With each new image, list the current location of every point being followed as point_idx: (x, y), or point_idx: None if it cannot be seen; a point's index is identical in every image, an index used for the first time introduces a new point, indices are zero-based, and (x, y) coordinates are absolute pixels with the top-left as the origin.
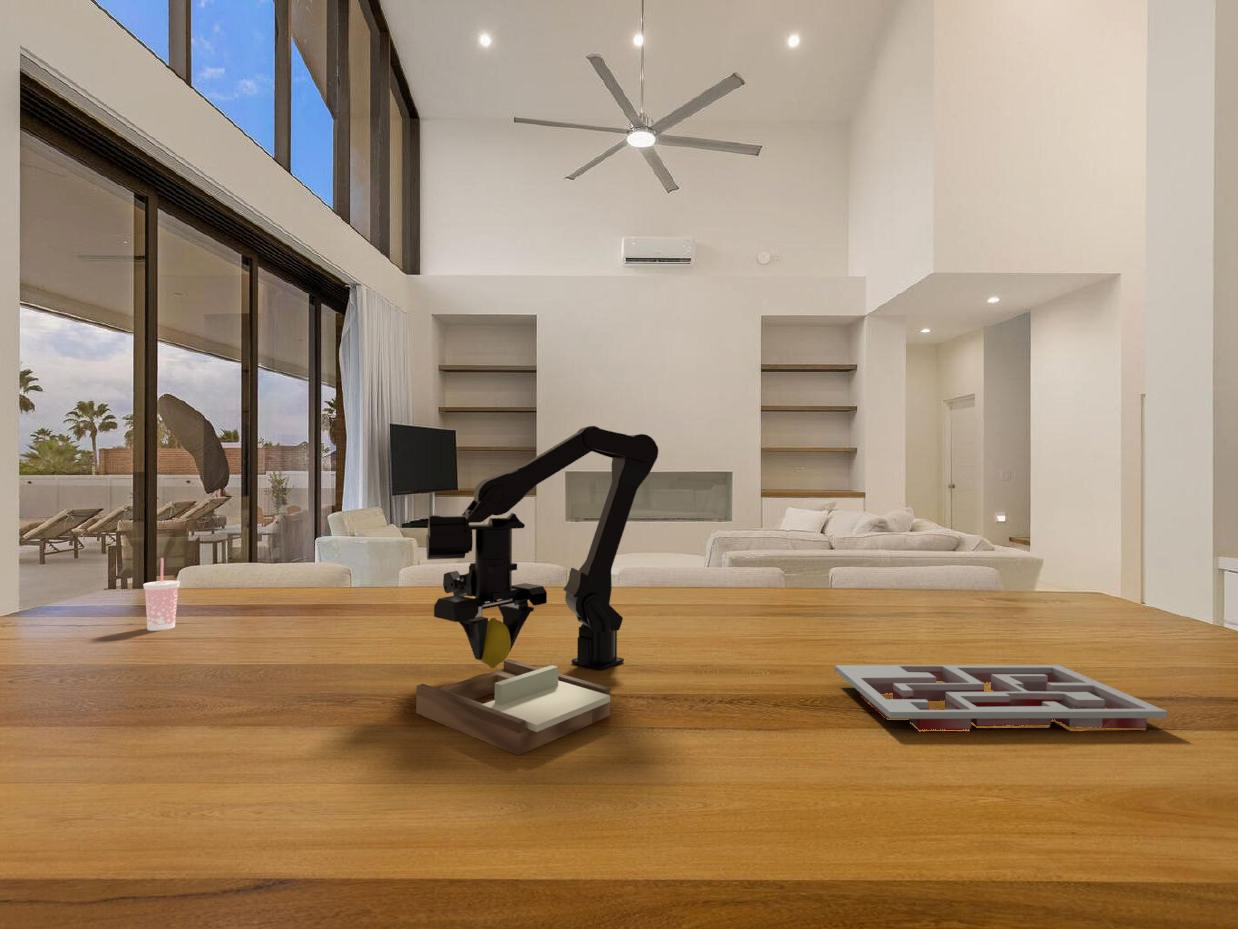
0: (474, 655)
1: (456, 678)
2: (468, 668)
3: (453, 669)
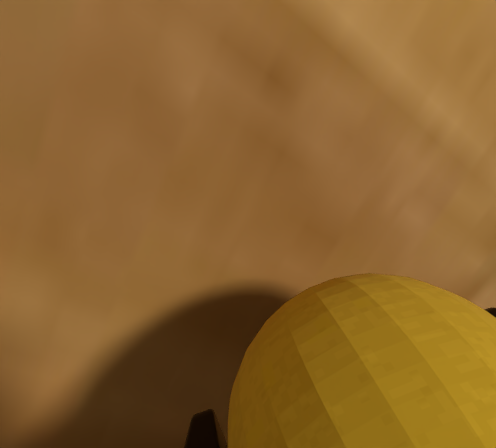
0: (186, 445)
1: (54, 293)
2: (217, 116)
3: (94, 70)
